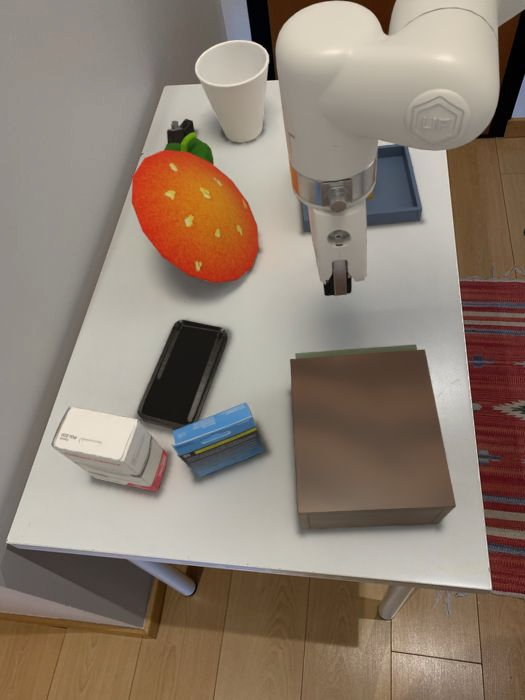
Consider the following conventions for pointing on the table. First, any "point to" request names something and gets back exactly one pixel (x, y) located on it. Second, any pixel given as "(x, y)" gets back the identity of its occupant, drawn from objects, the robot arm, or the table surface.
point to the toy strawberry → (195, 216)
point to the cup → (236, 86)
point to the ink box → (111, 448)
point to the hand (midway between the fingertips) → (337, 289)
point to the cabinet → (368, 442)
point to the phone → (183, 374)
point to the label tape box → (218, 440)
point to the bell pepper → (192, 147)
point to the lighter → (179, 131)
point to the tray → (390, 190)
